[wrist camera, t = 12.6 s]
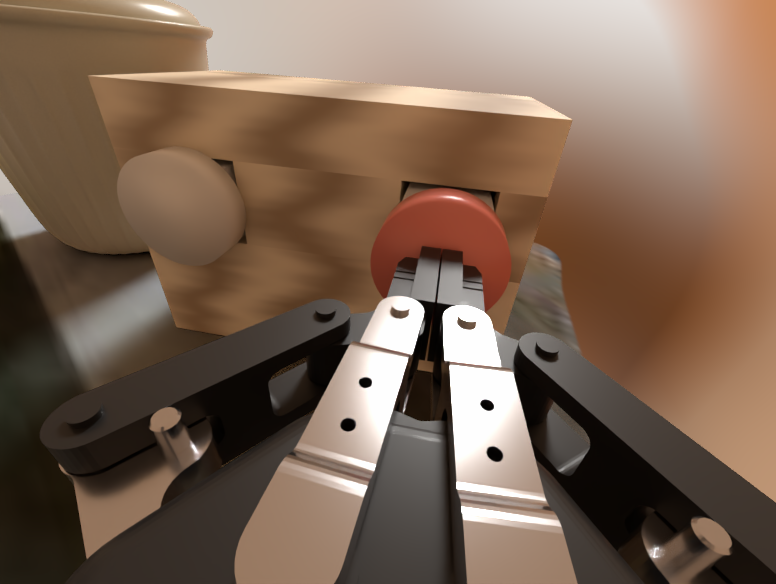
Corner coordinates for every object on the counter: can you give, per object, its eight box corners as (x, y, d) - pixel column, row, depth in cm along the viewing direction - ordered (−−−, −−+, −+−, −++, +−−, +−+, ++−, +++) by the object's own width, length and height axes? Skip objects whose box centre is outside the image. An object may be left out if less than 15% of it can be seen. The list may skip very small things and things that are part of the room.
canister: (188, 289, 26) (61, -130, 15) (-46, 268, 27) (-353, -158, 15) (270, 205, 41) (239, -35, 30) (119, 193, 42) (30, -50, 30)
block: (176, 327, 23) (87, 75, 15) (252, 256, 31) (220, 70, 23) (487, 382, 21) (572, 119, 13) (480, 290, 29) (529, 96, 21)
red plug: (368, 314, 15) (373, 193, 12) (398, 232, 22) (406, 144, 19) (492, 334, 14) (529, 212, 11) (483, 243, 21) (504, 154, 18)
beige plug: (139, 258, 18) (98, 147, 15) (232, 201, 25) (217, 119, 22) (237, 273, 17) (214, 161, 14) (304, 210, 24) (298, 127, 21)
